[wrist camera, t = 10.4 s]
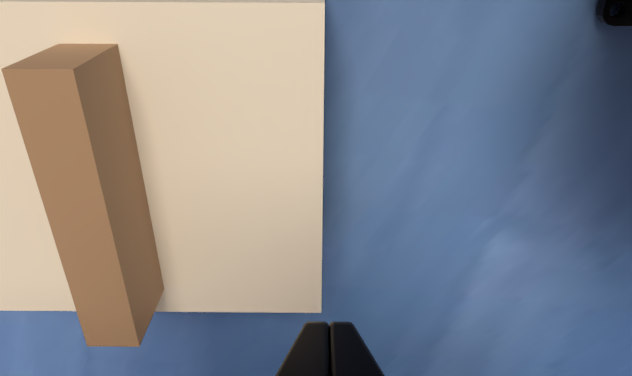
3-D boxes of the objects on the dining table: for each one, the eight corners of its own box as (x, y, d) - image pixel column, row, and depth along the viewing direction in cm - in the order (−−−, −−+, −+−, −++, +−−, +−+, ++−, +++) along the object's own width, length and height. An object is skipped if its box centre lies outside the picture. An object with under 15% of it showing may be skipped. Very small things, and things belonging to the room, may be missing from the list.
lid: (324, -3, 13) (326, 20, 9) (321, 293, 17) (321, 372, 14) (-132, -5, 13) (-278, 17, 10) (-10, 290, 17) (-81, 368, 14)
